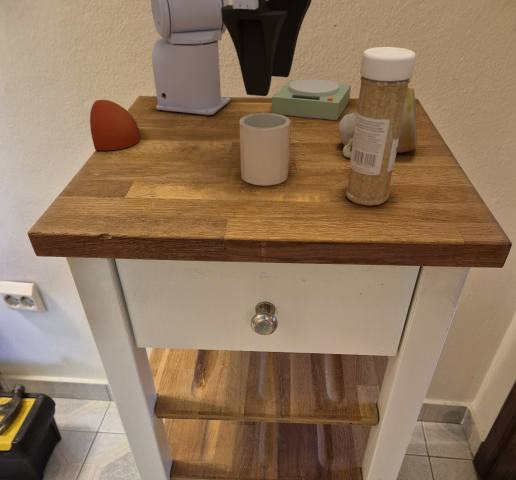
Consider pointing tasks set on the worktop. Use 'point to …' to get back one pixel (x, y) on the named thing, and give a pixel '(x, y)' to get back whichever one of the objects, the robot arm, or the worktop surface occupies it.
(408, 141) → the mug
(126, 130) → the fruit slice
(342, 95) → the kitchen scale
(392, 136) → the sprinkles bottle
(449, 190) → the worktop surface
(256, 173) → the white hollow cylinder
